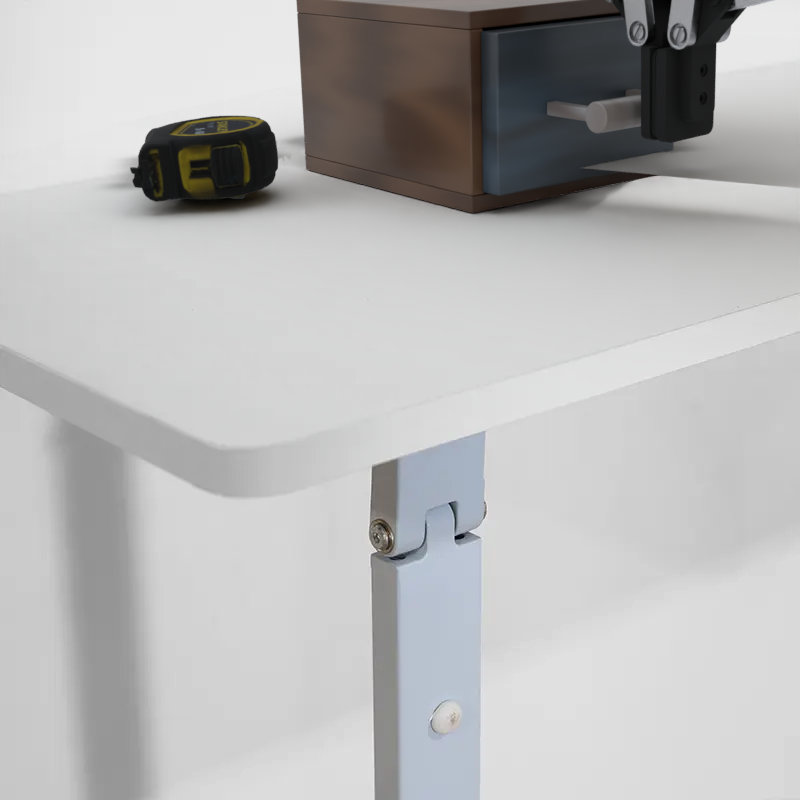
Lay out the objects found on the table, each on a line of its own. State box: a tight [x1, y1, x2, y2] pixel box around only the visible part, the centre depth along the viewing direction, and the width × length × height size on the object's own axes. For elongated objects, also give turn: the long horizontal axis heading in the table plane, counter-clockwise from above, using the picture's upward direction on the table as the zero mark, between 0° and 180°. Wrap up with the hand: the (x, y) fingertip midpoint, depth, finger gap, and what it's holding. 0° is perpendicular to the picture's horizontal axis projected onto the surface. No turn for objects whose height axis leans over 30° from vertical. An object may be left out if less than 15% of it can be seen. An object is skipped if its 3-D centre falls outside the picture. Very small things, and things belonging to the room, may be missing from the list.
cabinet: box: [295, 0, 659, 214], centre depth 72 cm, size 15×13×9 cm
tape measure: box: [129, 115, 279, 203], centre depth 69 cm, size 7×7×4 cm
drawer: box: [481, 14, 675, 196], centre depth 69 cm, size 18×11×7 cm, turn 36°
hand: (676, 135), depth 62 cm, fingers closed
